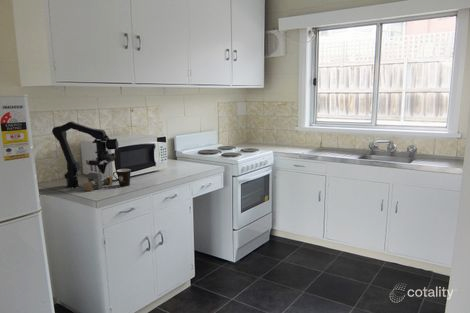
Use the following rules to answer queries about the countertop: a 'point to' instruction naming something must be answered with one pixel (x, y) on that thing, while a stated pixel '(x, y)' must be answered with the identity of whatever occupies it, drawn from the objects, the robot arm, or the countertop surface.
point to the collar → (98, 180)
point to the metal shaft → (89, 185)
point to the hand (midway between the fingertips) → (103, 173)
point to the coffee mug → (123, 177)
